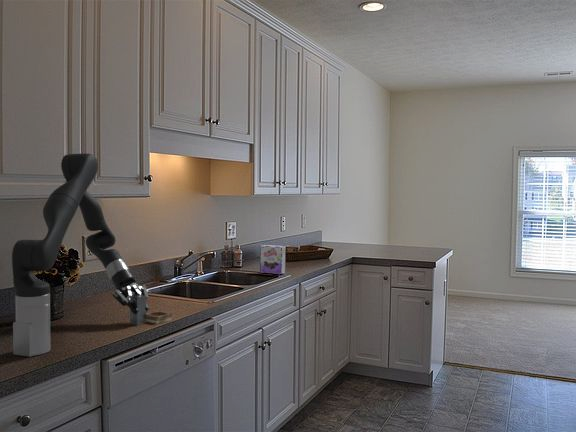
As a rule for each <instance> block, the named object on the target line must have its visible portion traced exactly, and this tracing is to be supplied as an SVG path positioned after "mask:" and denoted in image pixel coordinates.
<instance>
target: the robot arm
mask: <svg viewBox="0 0 576 432" xmlns="http://www.w3.org/2000/svg"><path fill="white" fill-rule="evenodd" d="M67 154H68V153H67ZM67 154H65V155H64V156H63V157H62V158H63V159H61V161H62V162H61V161H60V163H61V164H60V167H61V172H62V175H63V177H64V179H66V180H65V182H64V183H63V184H62V185H60V186H59V187H57V188H56V189H54V190H53V192H51V193H50V195H49V197H48V199H47V200H46V202H45V204H44V206H43V209H42V215H43V219H44V222H45V224H46V227H47V233H46V235H45V237H44V238H43V239H20V240H18V241H16V242H15V244H14V246H13V247H12V252H11V266H12V281H13V282H12V283H13V288H14V292H15V295H14V296H15V321H14V322H13V323H12V340H13V341H12V344H13V345H12V347H13V348H12V351H13V352H12V353H13V355H14V356H21V357H22V356H23V357H30V358H31V357H33V356H39V355H42V354H47V353H48V352H50V351H51V285H50V284H49V283H48V282H47V281H45V280H43V281H42V280H40V279H38V278H37V277H36V276H35V275H34V274H35V273H34V272H33V271H40V272H49V270H51V269H52V267H53V266H54V265H55V262H56V261H57V258H58V256H59V255H58V254H59V252H60V249H61V245H62V243H63V240H64V238H65V234H66V233H67V231H68V228H69V226H70V224H71V222H72V220H73V218H74V216H75V214H76V212H77V210H78V208H79V210H80V211H81V215H82V219H83V221H84V225H85V227H86V229H87V230H88V231H90V232H96V233H93V234H90V235H88V236H87V237H86V238H85V245H86V247H87V249H88V250H89V251H90V252H91V254H93V255H94V256H95V257H96V258H97V259H98V260H99V261H100V262H101V264H102V265H103V267H104V268H105V270H106V274H107V276H108V278H109V279H110V281H111V283H112V284H113V286H114V287H115V291H114V292H113V293H112V297H113V298H114V299H116V301H118V303H119V304H120V305H121V306H122V307H125V306H127V307H128V308H129V311H130V310H131V311H132V313H134V314H137V313H138V309H137V307H136V305H135V304H134V303H133V300H132V298H131V296H133V295H145V296H146V301H147V300H148V299H149V295H148V289H147V286H146V285H145V284H143V285H142V286H141V285H139V284H138V283H136V278H135V276H134V275H133V273H132V272H131V270H130V268H129V266H128V265H127V263H126V262H125V261H124V259H123V258H122V256H121V254H120V252H119V251H118V250H117V249H114V248H112V247H114V246H115V244H116V236H115V234H114V233H113V231H111V229H110V228H109V226H108V224H107V222H106V219H105V216H104V213H103V209H102V207H101V205H100V203H99V202H98V201H97V200H96V199H95V198H94V197H93V196H92V194H91V193H89V192H88V188H89V187H90V185H91V184H92V182H93V181H94V179H95V177H96V175H97V173H98V169H99V161H98V159H97V157H96V156H95V155H94V154H92V153H69V154H68V155H67ZM149 308H150V307H149V305H148V303H147V302H146V313H147V312H148V310H149Z"/></svg>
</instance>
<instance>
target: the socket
mask: <svg viewBox="0 0 576 432" xmlns="http://www.w3.org/2000/svg"><path fill="white" fill-rule="evenodd" d="M172 318H173V315H172V313H171V312H168V311H167V312H166V311H162V310H161V311H160V310H156V311H151V312H148V313H147V312H146V323H151V324H156V325H158V324H161V323H166V322H170V321H172Z"/></svg>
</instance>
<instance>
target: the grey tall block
mask: <svg viewBox="0 0 576 432" xmlns="http://www.w3.org/2000/svg"><path fill="white" fill-rule="evenodd" d="M131 298H132V300H133V303H134V304H135V305H136V307H137V309H138V313H137V314H134V313H132V311H131V310H130V309H129V324H130V325H133V326H141V325H144V324H147V321H146V314H147V312H146V303H147V300H146V296H145V295H138V294H137V295H133V296H131Z"/></svg>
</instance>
